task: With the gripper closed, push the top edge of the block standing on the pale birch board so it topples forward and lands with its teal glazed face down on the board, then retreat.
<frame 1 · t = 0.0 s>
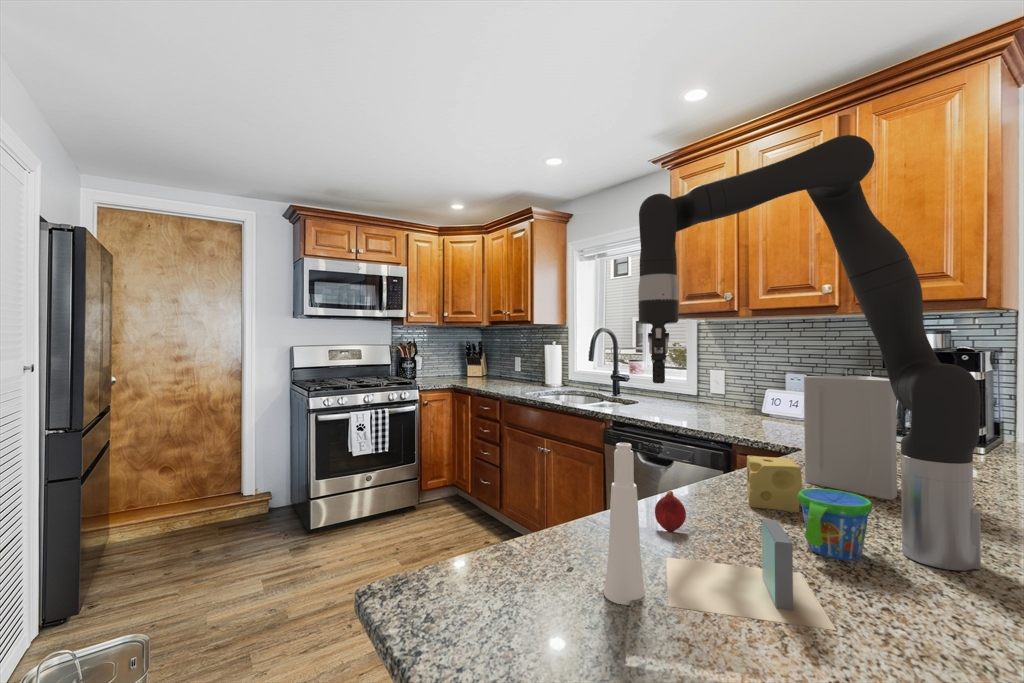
hand: (658, 381, 96), 29 cm above the countertop, tool pointing down, fingers open, 8 cm apart
block: (776, 593, 70), point 1 cm above the countertop, touching board
onion: (670, 533, 95), on the countertop
cosmetic bottle: (624, 596, 71), on the countertop
cheese: (772, 504, 112), on the countertop
board: (738, 593, 71), on the countertop
snack cup: (834, 556, 84), on the countertop
white grooved panel: (855, 486, 126), on the countertop
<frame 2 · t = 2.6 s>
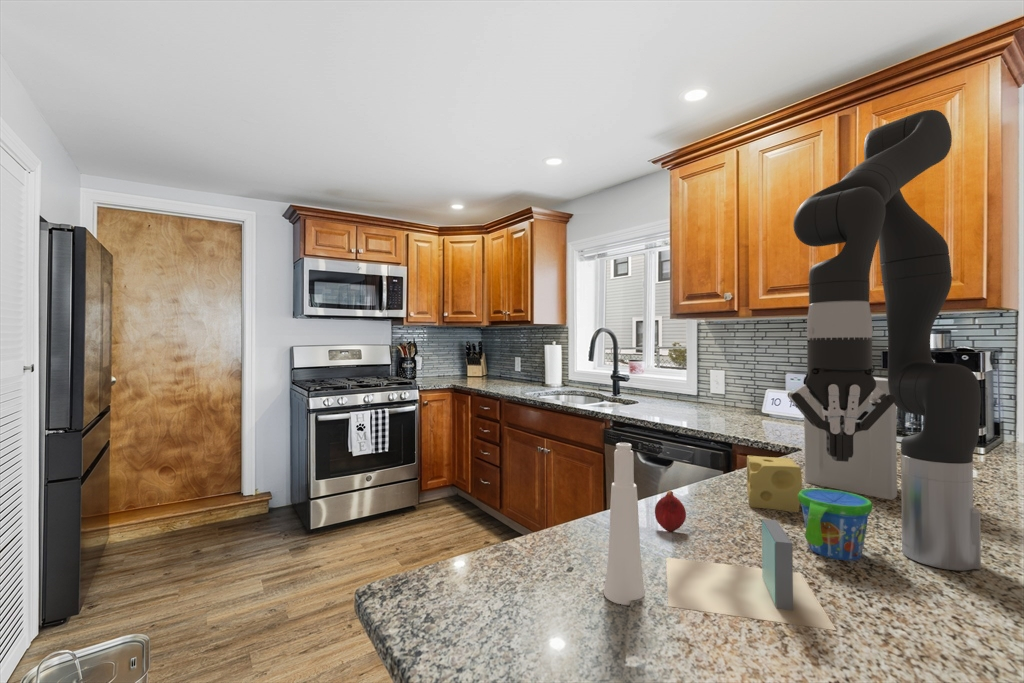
hand: (839, 460, 68), 20 cm above the countertop, tool pointing down, fingers closed
nothing on the countertop moved.
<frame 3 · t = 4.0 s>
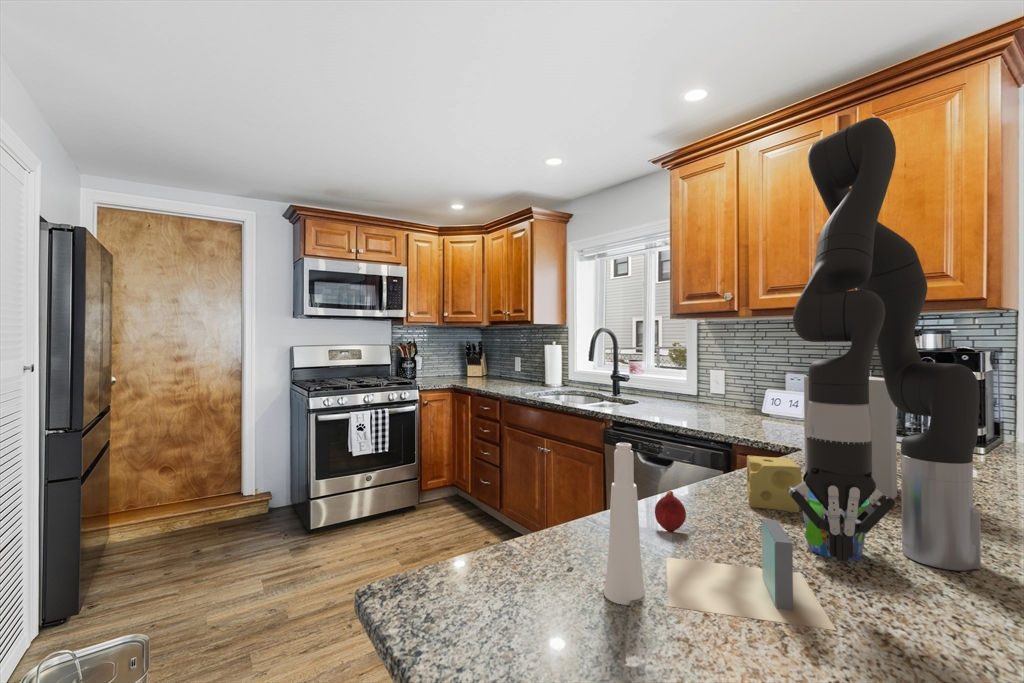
hand: (839, 559, 68), 7 cm above the countertop, tool pointing down, fingers closed
nothing on the countertop moved.
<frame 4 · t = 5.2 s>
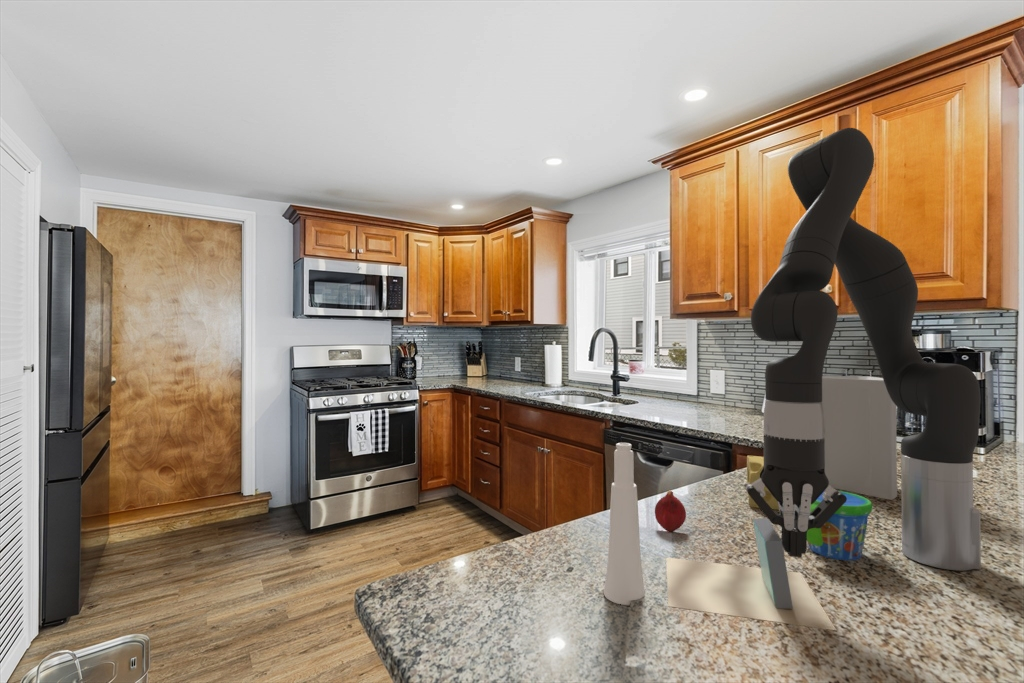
hand: (793, 554, 69), 7 cm above the countertop, tool pointing down, fingers closed
block: (776, 592, 70), point 1 cm above the countertop, tilted 8°, touching board, gripper
everything else where it was.
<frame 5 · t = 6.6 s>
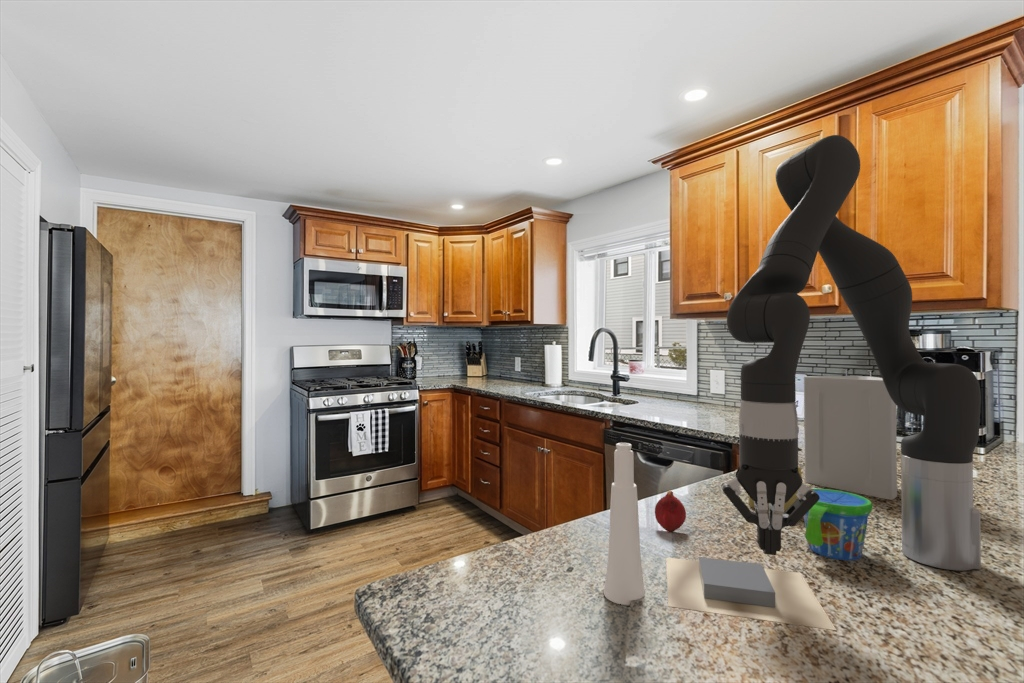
hand: (768, 552, 70), 6 cm above the countertop, tool pointing down, fingers closed
block: (768, 584, 70), point 2 cm above the countertop, tilted 90°, touching board
everything else where it was.
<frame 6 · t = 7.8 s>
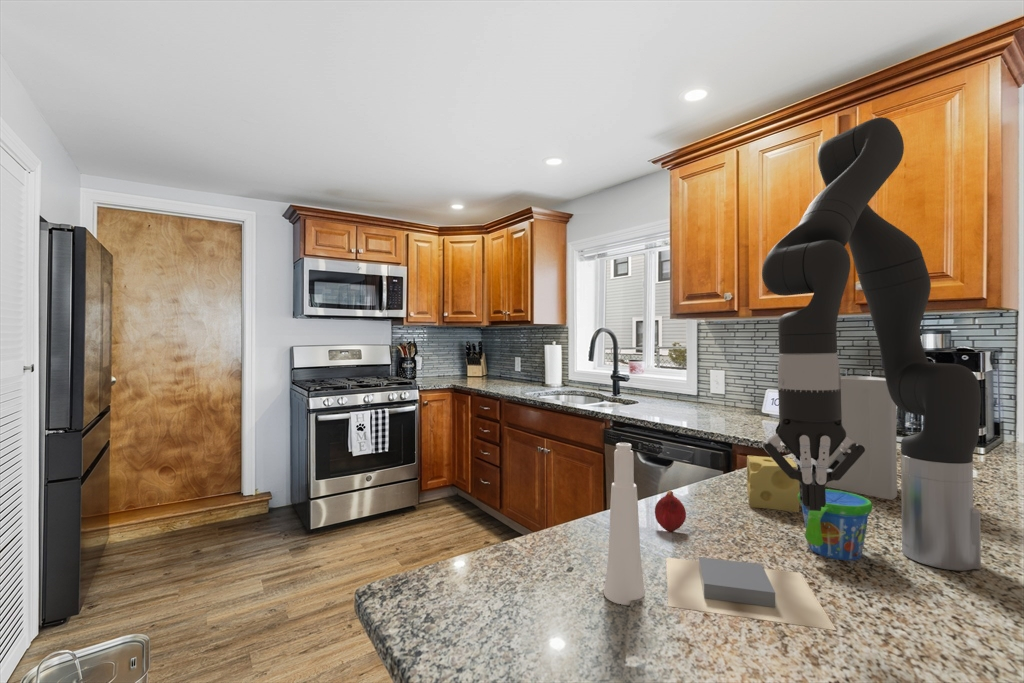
hand: (812, 509, 68), 13 cm above the countertop, tool pointing down, fingers closed
nothing on the countertop moved.
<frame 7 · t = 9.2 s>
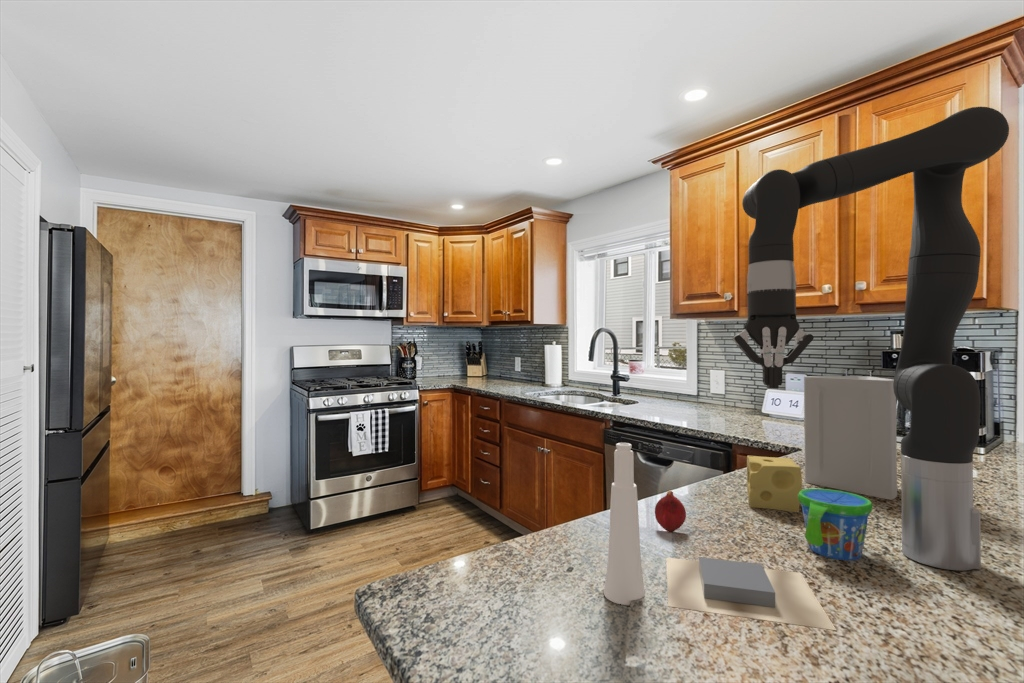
hand: (772, 388, 85), 29 cm above the countertop, tool pointing down, fingers closed
nothing on the countertop moved.
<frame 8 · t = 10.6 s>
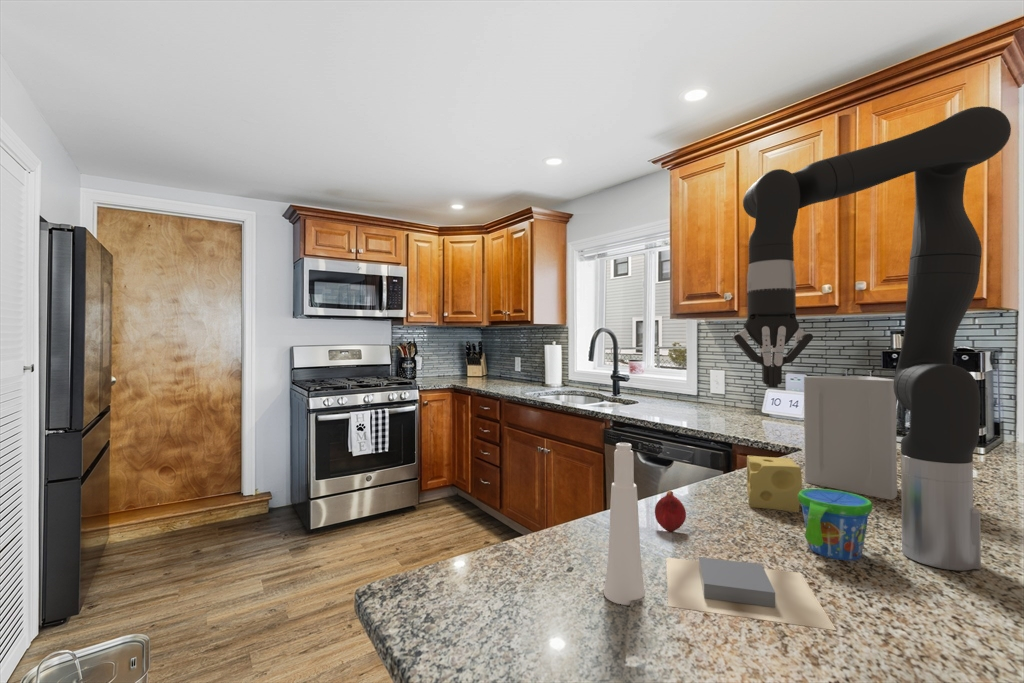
hand: (771, 387, 85), 29 cm above the countertop, tool pointing down, fingers closed
nothing on the countertop moved.
at the end: block tilted 90°; block inside the target area on the board (4.4 cm from its centre), point 1.9 cm above the board's base; block touching board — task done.
